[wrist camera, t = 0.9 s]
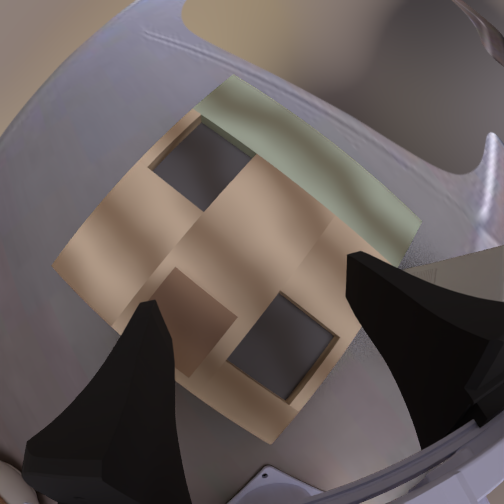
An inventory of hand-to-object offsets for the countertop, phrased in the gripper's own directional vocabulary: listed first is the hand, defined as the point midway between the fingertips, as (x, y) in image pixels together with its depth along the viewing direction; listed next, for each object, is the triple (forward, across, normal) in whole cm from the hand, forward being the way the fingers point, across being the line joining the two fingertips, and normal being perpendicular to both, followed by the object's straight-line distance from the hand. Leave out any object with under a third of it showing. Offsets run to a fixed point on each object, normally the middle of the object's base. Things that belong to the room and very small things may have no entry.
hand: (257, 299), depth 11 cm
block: (+8, +4, +7) cm, 12 cm away
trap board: (+13, -1, +5) cm, 14 cm away
